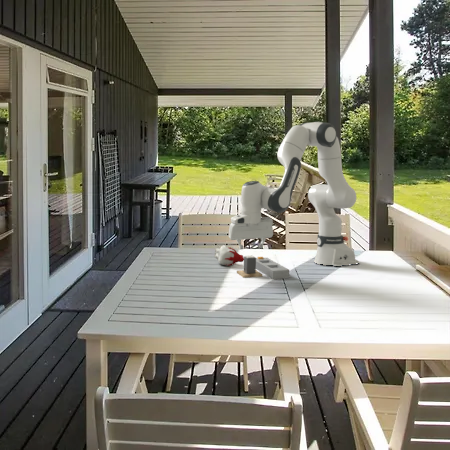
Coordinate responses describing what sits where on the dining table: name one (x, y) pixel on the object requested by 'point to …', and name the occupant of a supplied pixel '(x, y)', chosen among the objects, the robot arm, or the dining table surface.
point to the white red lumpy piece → (228, 256)
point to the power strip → (271, 268)
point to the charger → (249, 264)
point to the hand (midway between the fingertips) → (251, 248)
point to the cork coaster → (249, 274)
